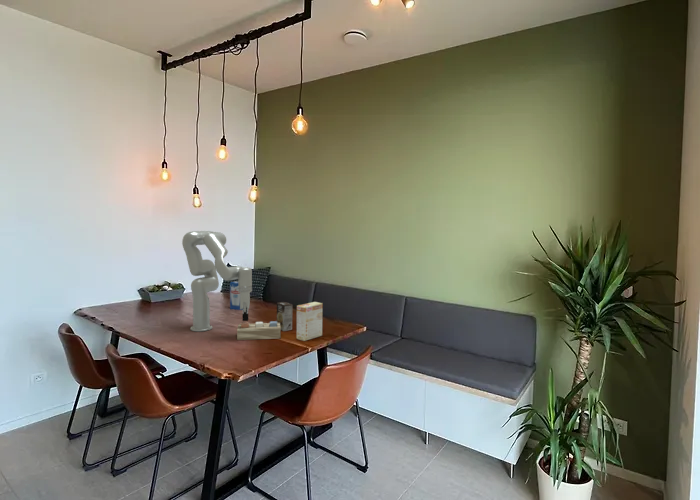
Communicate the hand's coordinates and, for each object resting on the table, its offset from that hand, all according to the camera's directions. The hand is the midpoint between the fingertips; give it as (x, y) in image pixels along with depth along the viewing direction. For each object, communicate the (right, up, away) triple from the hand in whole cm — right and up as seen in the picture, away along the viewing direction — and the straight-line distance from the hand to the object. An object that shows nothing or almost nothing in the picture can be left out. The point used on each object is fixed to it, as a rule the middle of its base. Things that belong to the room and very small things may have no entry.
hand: (245, 320), depth 233 cm
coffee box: (+19, -9, +19) cm, 29 cm away
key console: (+7, -10, +2) cm, 12 cm away
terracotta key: (0, -6, +1) cm, 6 cm away
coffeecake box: (+37, -10, +3) cm, 38 cm away
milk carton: (-24, -4, +71) cm, 75 cm away
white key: (+8, -6, +2) cm, 10 cm away
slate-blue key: (+15, -6, +4) cm, 17 cm away
